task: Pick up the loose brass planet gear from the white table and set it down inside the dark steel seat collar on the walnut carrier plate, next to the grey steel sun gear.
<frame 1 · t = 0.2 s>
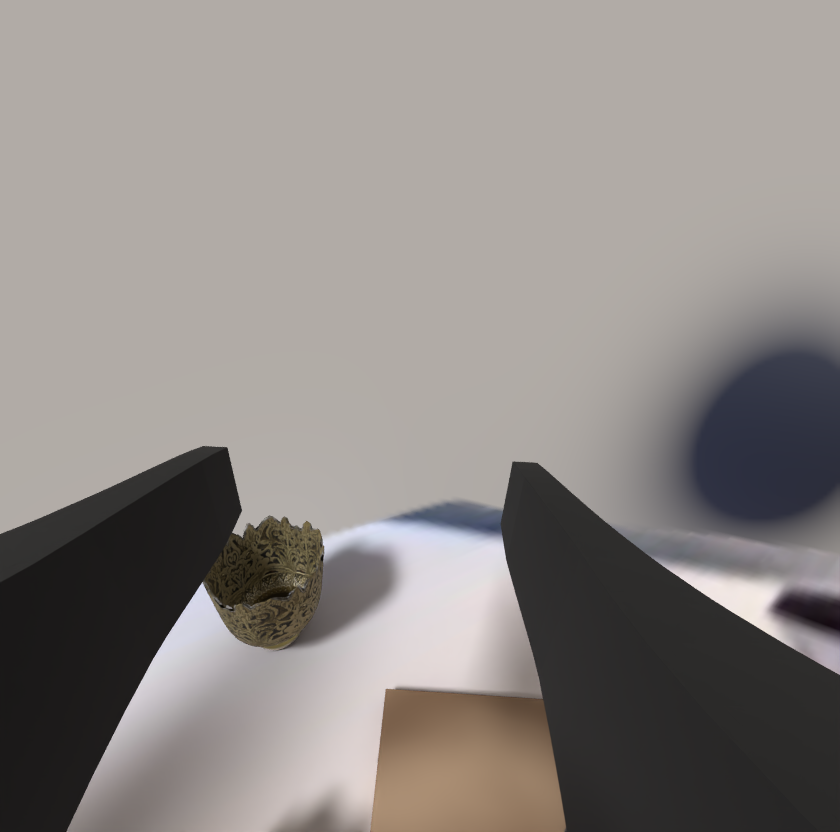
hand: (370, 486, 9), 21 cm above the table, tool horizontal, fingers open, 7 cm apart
cup: (281, 632, 27), on the table
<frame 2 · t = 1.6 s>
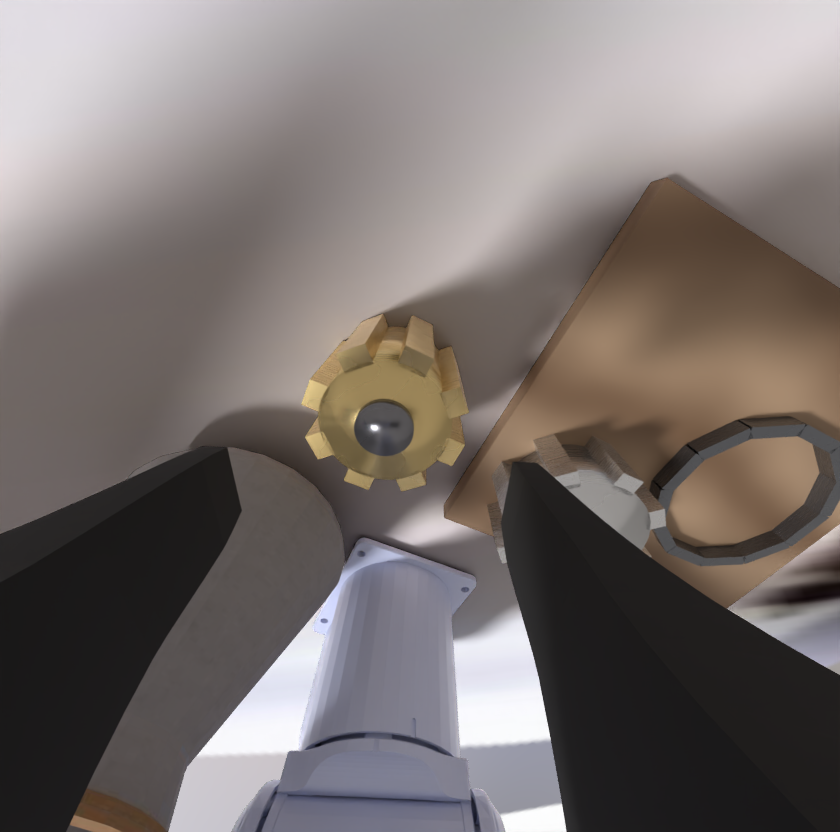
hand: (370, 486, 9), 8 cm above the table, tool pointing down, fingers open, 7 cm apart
carrier plate: (683, 452, 18), on the table
sun gear: (557, 494, 18), resting on carrier plate
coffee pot: (241, 561, 23), on the table
seat collar: (734, 492, 18), resting on carrier plate
planet gear: (396, 375, 17), on the table
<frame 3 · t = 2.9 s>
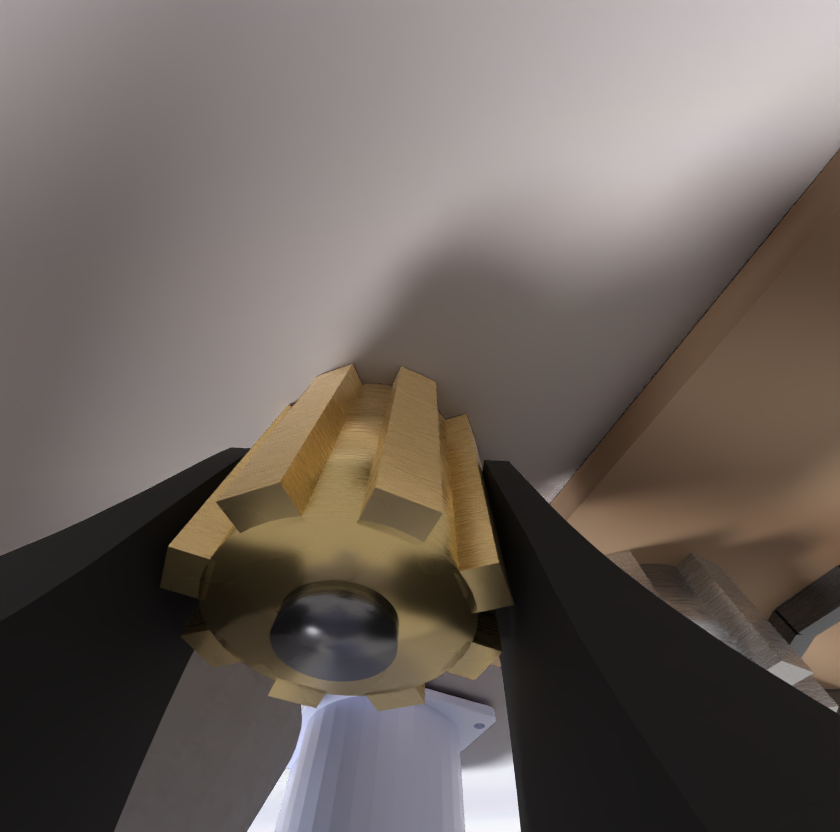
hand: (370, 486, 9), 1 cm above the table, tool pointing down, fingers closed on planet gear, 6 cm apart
carrier plate: (817, 564, 12), on the table
sun gear: (624, 626, 12), resting on carrier plate
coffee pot: (170, 683, 16), on the table
planet gear: (377, 456, 10), on the table, touching gripper
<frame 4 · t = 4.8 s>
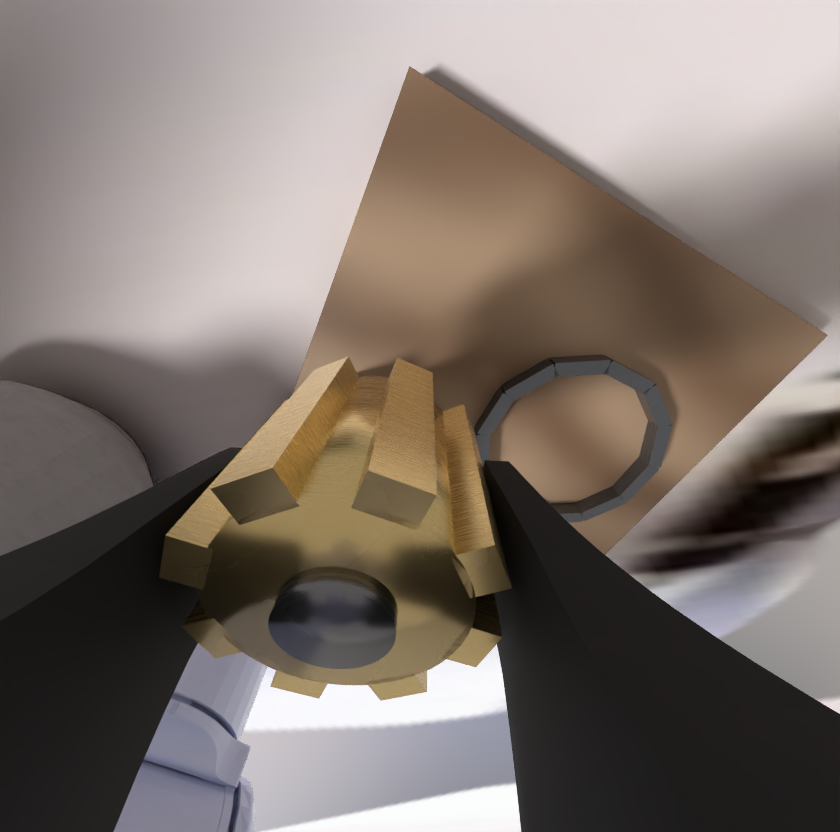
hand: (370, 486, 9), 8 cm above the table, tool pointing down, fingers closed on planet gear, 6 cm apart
carrier plate: (512, 400, 17), on the table
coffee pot: (78, 519, 21), on the table
seat collar: (564, 442, 17), resting on carrier plate
planet gear: (376, 450, 10), point 7 cm above the table, touching gripper
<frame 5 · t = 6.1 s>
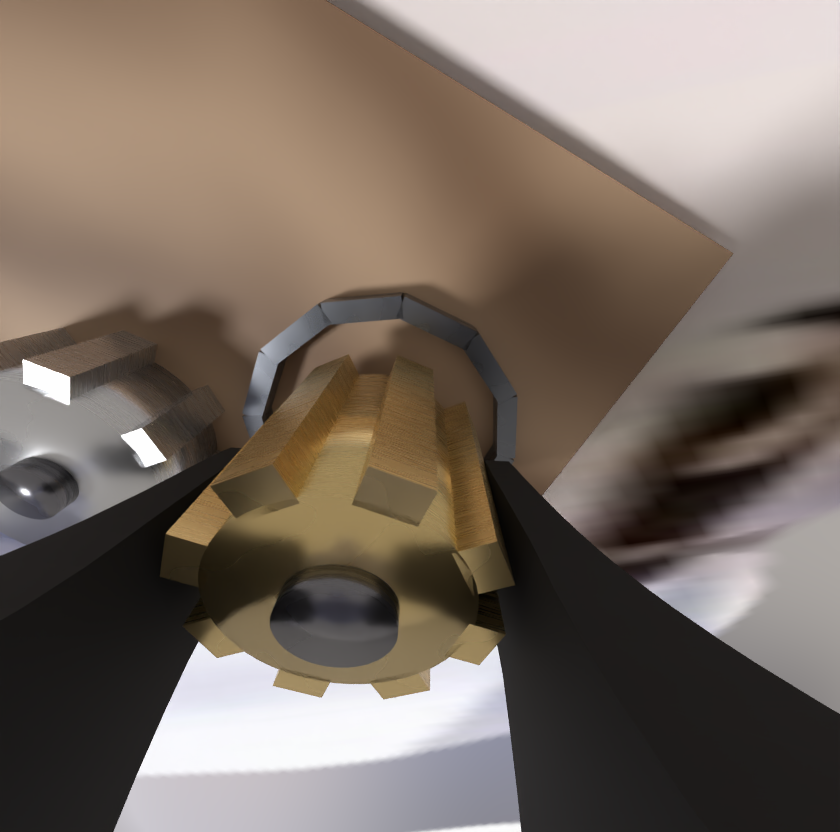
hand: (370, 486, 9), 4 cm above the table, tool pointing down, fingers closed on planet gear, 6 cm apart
carrier plate: (313, 368, 12), on the table
sun gear: (130, 429, 12), resting on carrier plate
seat collar: (384, 426, 12), resting on carrier plate
planet gear: (377, 448, 10), point 3 cm above the table, touching gripper
when the fingers open (4 cm above the table, at t = 7.2 s): planet gear drops 1 cm, resting on carrier plate.
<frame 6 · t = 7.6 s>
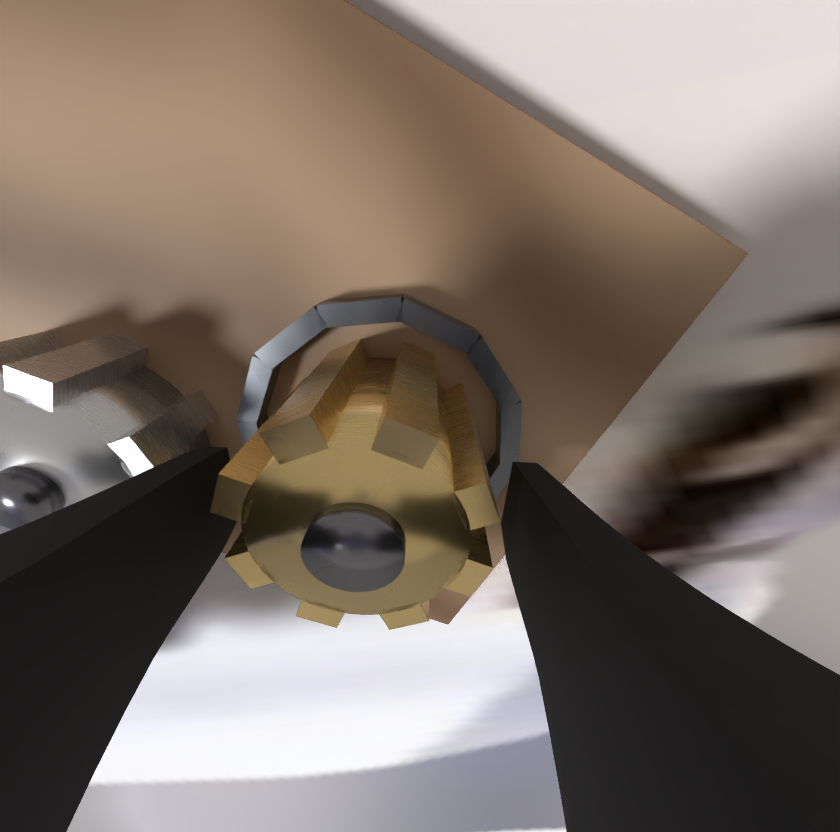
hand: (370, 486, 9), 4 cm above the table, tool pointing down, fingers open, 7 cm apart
carrier plate: (310, 372, 12), on the table
sun gear: (120, 435, 12), resting on carrier plate
seat collar: (383, 432, 12), resting on carrier plate
planet gear: (384, 425, 12), point 1 cm above the table, touching carrier plate
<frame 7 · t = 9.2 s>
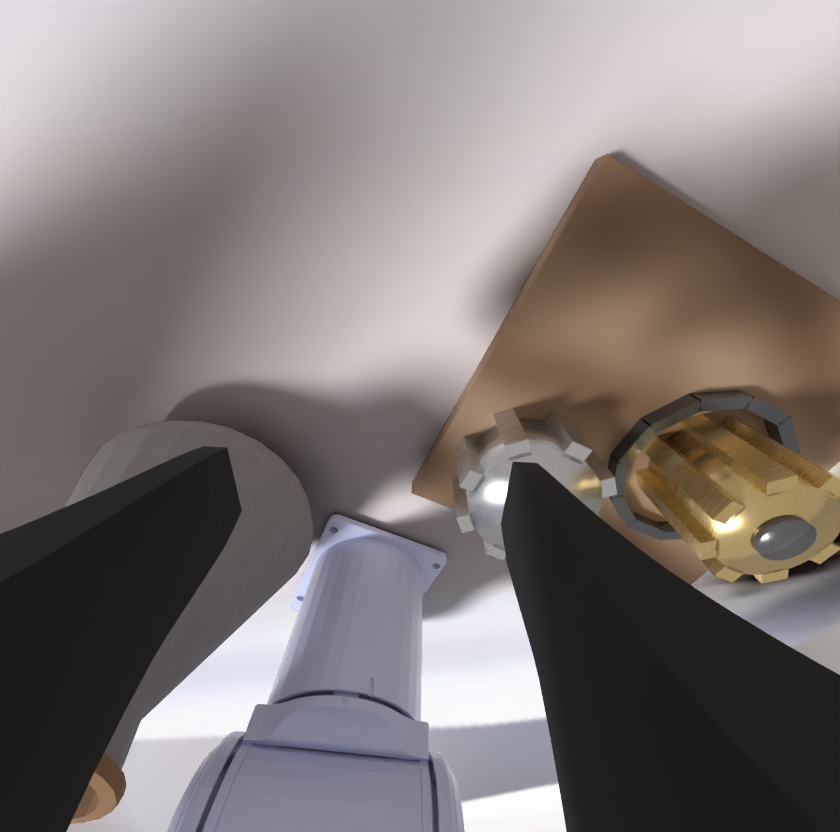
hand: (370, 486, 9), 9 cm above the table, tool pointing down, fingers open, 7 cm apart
carrier plate: (641, 428, 19), on the table
sun gear: (519, 468, 19), resting on carrier plate
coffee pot: (218, 539, 23), on the table
seat collar: (691, 467, 19), resting on carrier plate
planet gear: (693, 462, 18), point 1 cm above the table, touching carrier plate
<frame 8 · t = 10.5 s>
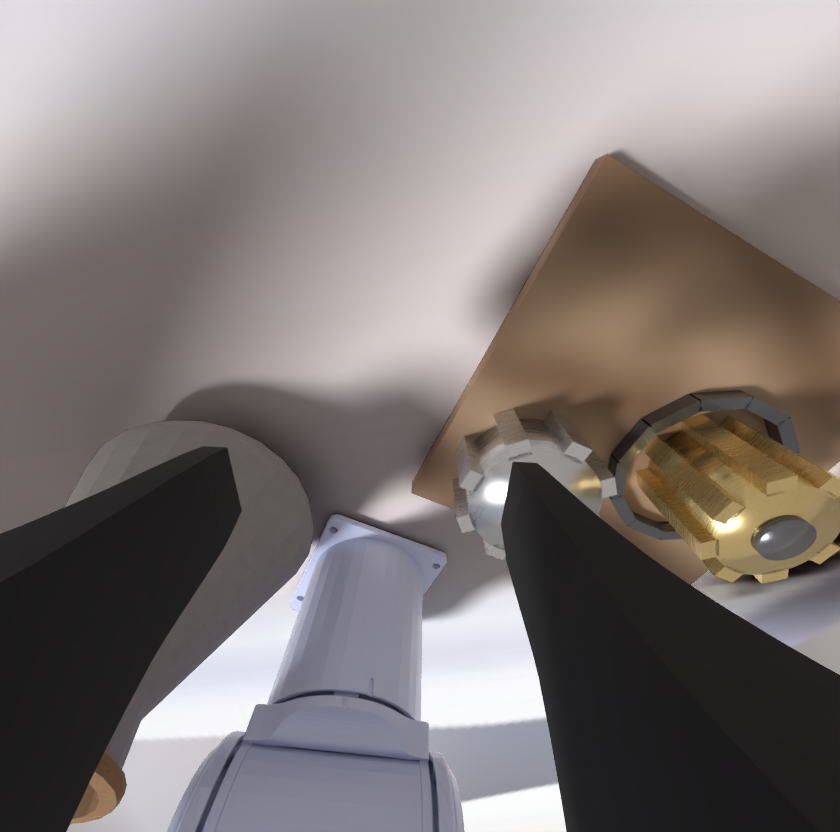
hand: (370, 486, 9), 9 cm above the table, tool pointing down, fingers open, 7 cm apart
carrier plate: (641, 428, 19), on the table
sun gear: (519, 468, 19), resting on carrier plate
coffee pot: (218, 539, 23), on the table
seat collar: (691, 467, 19), resting on carrier plate
planet gear: (693, 462, 18), point 1 cm above the table, touching carrier plate
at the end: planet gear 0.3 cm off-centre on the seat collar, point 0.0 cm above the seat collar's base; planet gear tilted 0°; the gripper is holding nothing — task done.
